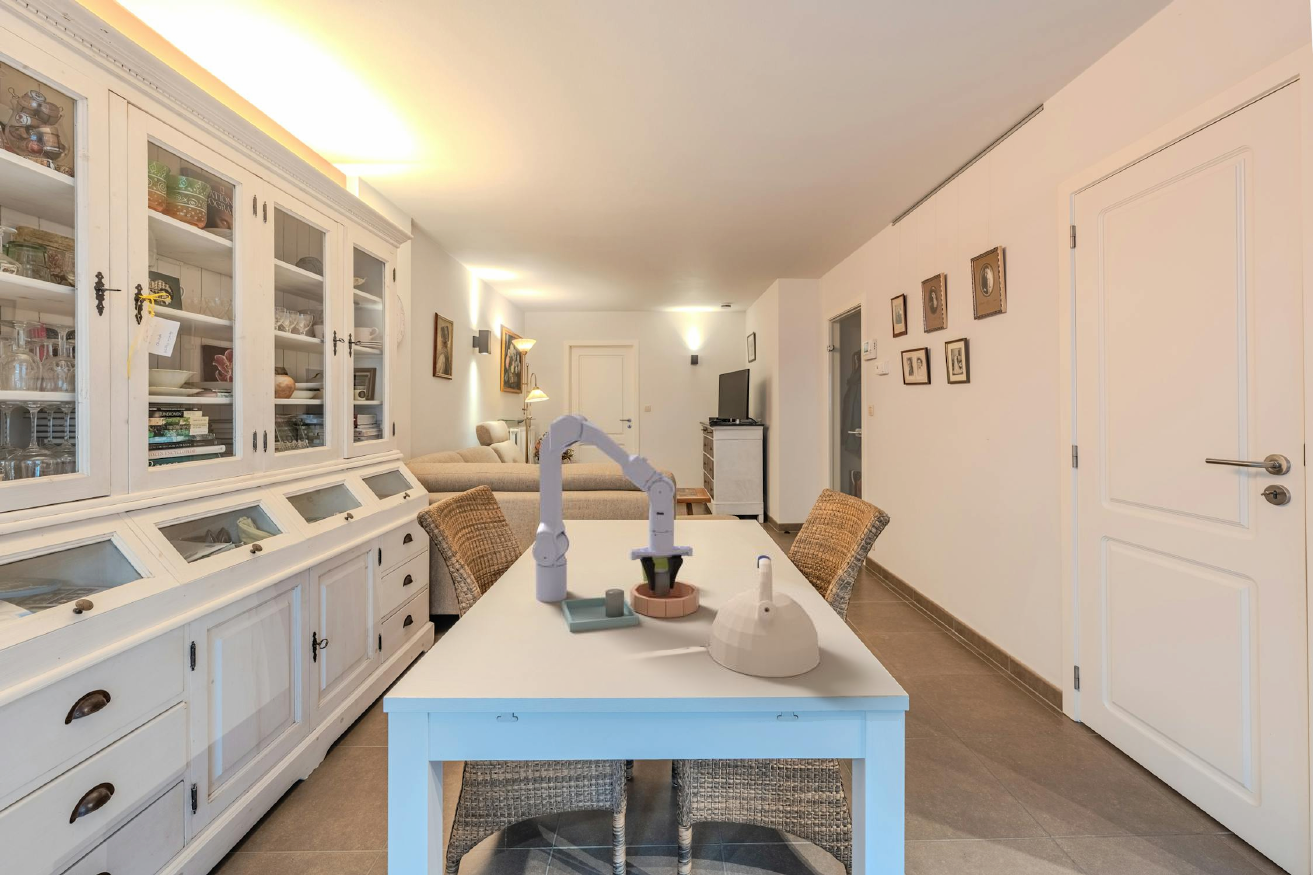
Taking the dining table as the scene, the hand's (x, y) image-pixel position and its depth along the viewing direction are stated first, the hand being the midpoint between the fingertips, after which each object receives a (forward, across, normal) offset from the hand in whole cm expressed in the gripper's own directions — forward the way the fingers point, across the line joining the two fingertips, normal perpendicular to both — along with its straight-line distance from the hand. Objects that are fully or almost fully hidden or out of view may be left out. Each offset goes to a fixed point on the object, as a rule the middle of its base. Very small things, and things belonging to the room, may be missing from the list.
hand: (661, 588), depth 132 cm
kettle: (+4, -11, +30) cm, 32 cm away
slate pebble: (+3, +12, +6) cm, 14 cm away
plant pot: (+4, -3, -15) cm, 16 cm away
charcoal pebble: (+1, 0, 0) cm, 1 cm away
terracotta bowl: (+4, 0, +3) cm, 5 cm away
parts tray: (+4, +16, +6) cm, 17 cm away
